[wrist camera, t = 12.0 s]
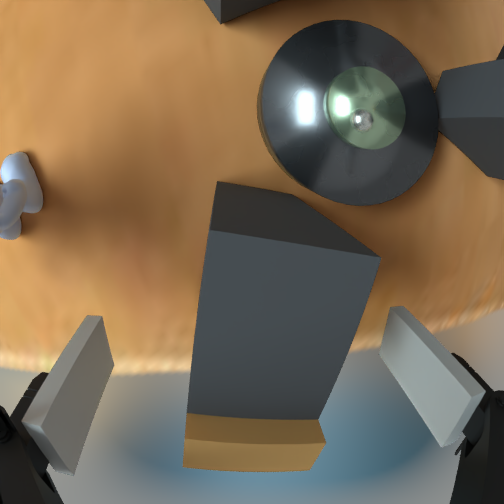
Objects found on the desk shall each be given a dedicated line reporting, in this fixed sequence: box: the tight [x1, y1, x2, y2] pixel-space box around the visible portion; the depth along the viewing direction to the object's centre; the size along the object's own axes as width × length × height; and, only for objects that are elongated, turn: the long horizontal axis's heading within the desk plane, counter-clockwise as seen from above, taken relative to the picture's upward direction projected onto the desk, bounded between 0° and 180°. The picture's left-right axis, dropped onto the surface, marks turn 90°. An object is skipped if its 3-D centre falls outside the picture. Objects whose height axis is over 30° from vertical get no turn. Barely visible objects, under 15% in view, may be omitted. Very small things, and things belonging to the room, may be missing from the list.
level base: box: [257, 20, 439, 206], centre depth 14 cm, size 10×10×4 cm
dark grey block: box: [183, 181, 381, 472], centre depth 12 cm, size 7×4×11 cm, turn 169°
